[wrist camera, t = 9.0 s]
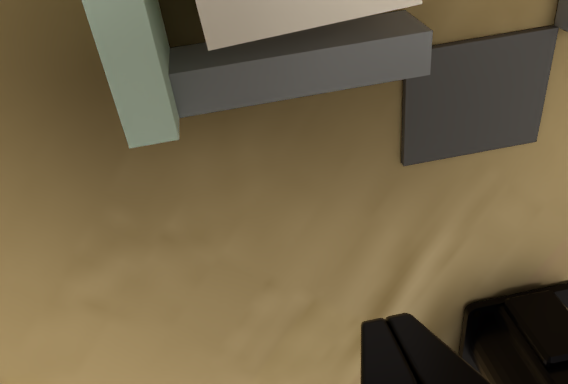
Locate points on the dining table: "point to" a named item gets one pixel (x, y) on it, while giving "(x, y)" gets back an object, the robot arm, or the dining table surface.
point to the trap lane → (331, 76)
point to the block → (280, 17)
